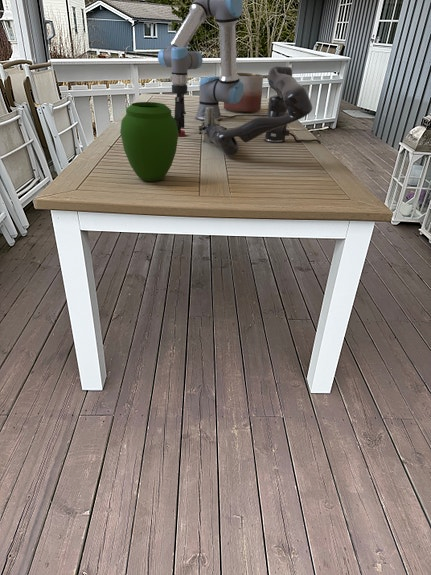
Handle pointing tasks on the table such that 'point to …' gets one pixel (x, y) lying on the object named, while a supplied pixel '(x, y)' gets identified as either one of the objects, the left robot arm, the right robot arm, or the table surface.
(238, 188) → the table surface
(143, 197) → the table surface
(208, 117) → the jar
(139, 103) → the vase
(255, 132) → the right robot arm
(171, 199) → the table surface
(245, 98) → the planter
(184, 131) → the lid
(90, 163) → the table surface
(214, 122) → the seashell
